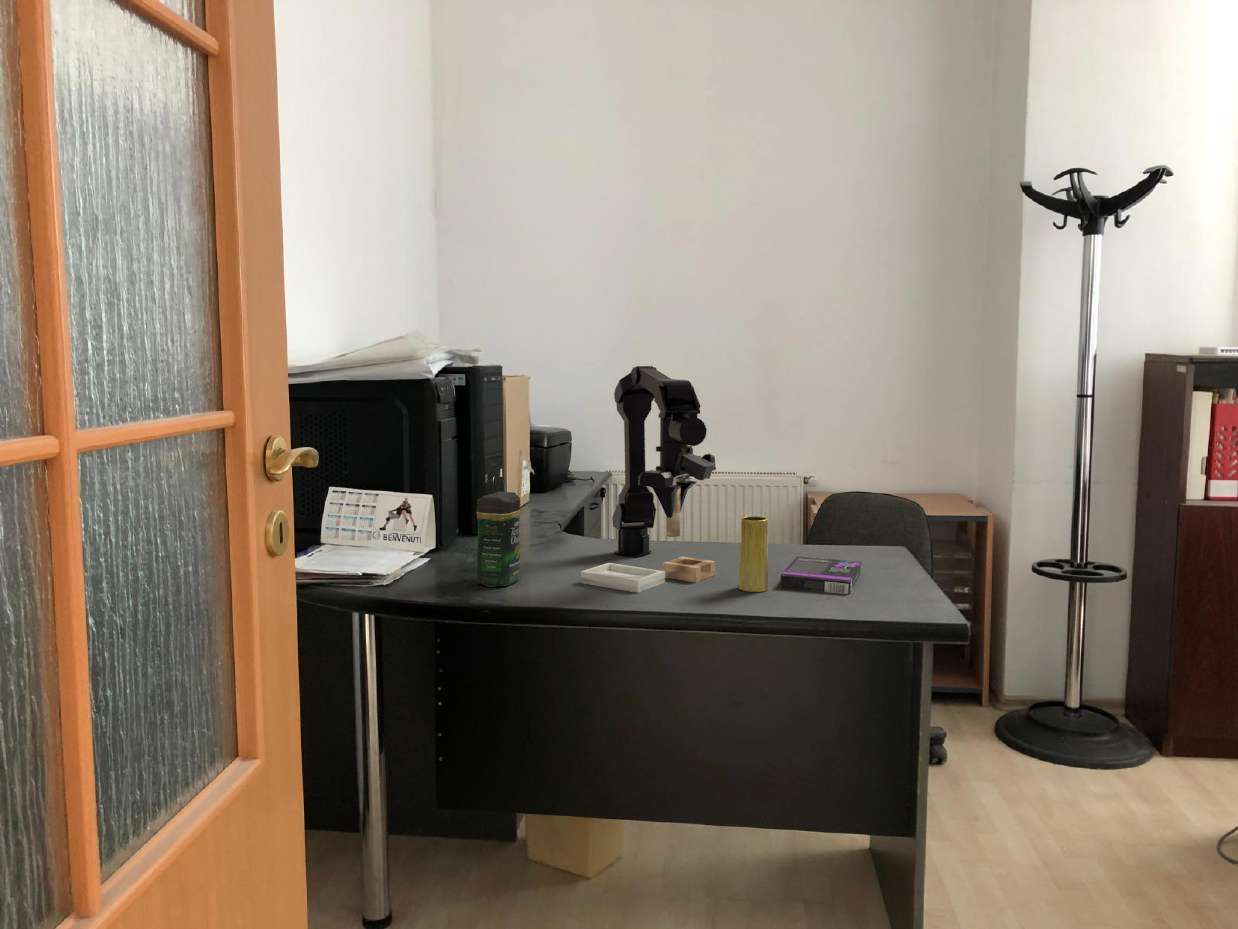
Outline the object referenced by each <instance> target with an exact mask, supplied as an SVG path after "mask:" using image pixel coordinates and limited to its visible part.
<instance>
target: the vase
mask: <svg viewBox="0 0 1238 929" xmlns="http://www.w3.org/2000/svg"><path fill="white" fill-rule="evenodd" d="M768 522H769V519H768V518H767V517H764V516H759V515H758V516H757V515H755V516H754V515H753V516H752V515H751V516H750V515H749V516H743V517H741V522H740V523H741V524H740V527H741V528H740V530H741V531H740V535H741V536H740V538H741V539H740V555H739V556H740V558H739V570H738V585H737V588H738V590H740V591H743V592H747V593H748V592H749V593H762V592H766V591H769V565H768V564H769V555H768V554H769V550H768V548H769V546H768V543H769V540H768V536H769V533H768V532H769V531H768V525H769V524H768Z"/></svg>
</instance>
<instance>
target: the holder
mask: <svg viewBox="0 0 1238 929" xmlns="http://www.w3.org/2000/svg"><path fill="white" fill-rule="evenodd" d="M662 571H665V579H674V580H679V581H686V582H690V583H691V582H692V583H698V582H701V581H703V580H706V579H708V578H711V577H713V576H715V575H716V561H715V560H710V559H702V558H697V557H696V558H695V557H688V556H680V557H679V556H678V557H677V558H674V559H671V560H668V561H665V562H663V563H662Z"/></svg>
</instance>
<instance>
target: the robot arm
mask: <svg viewBox="0 0 1238 929" xmlns="http://www.w3.org/2000/svg"><path fill="white" fill-rule="evenodd" d="M613 396H614V402H615V404H616V411H617V412H618V414H619V415H620V417H621V419H622V421H623V425H624V426H623V430H624V473H625V474H624V480H625V481H624V482H625V484H624V486H623V488H622V489H621V490H620V493H619V495H618V503H617V505H616V506H615V507H616V508H615V510H614V512H613V515H612V518H611V519H612V526H613V528H615V529H616V530H617V531H618V532H617V540H618V542H617V550H615V551H613V552H614V554H615V555H620V556H621V555H622V556H626V557H636V558H637V557H642V556H645V555H647V554H650V553H652V550H651V549H650V534H649V529H654V525H655V519H656V512H657V507H656V504H655V503H654V502H655V501H654V500H655V496H656V497H657V500H658V501H659V503H660V505H661V508H662V509H663V511H664V515H665V517H666V518H667V517H668V518H672V515H673V509H674V499H675V493H676V491H677V490H678V489H679V488H681V495H680V513H682V508H683V506H684V502H685V499H686V497H687V494H688V491H689V489H691V488H692V487H693V486H695V485H696V484H697V483H698V482H697V481H705V479H707V480H708V479H710V478H711V475H712V473H713V472H714V471H716V469H717V467H716V457H715V455H713V454H711V453H705V454H704V455H703V456H701V455H696V454H694V449H693V447H696V446H699V445H700V444H702V443H703V442H704V441H705V439H706V436H707V430H708V429H707V427H706V423H705V422H704V421H703V420H702V419H701V418H699V417H698V415H701V410H700V408H701V404H700V401H699V399H698V396H697V394H696V391H695V388H694V386H693V384H692V383H691V381H690V380H687V379H678V378H677V379H676V378H671V377H669V376H668V375H666V374H665V373H662V372H661V371H659V370H657V367H655V366H653V365H636V366H634V367H632V368H631V371H630V372H629V373H628V374H626V375H625V376H623V377H622V378H620V380H618V382H617V384H616V386H615V389H614V393H613ZM653 401H654V402H655V404H656V405H657V407H658V411H659V413H658V418H660V420H659V422H660V423H659V424H660V425H659V426H660V427H659V430H660V431H659V441H660V442H659V445H657V446H655V452H656V453H657V452H659V465H656V466H655V469H654V470H653V469H650V470H646V434H645V433H646V429H645V428H646V426H645V424H646V423H645V422H646V420H647V418H648V416H649V414H650V413H651V411H652V407H653V406H652V404H653ZM692 477H693V478H694V479H696V480H697V481H695V480H692ZM649 488H652V490H653V492H654V493H653V492H652V491H651V490H650V489H649ZM654 494H655V495H654Z"/></svg>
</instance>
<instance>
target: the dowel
mask: <svg viewBox="0 0 1238 929" xmlns="http://www.w3.org/2000/svg"><path fill="white" fill-rule="evenodd" d="M680 495H681V488H679V489H678V490H677V491H676V493H675V499H674V509H673V515H672V518H668V517H667V516H666V537H669V538H677V537H680V536H681V512H680Z"/></svg>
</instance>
